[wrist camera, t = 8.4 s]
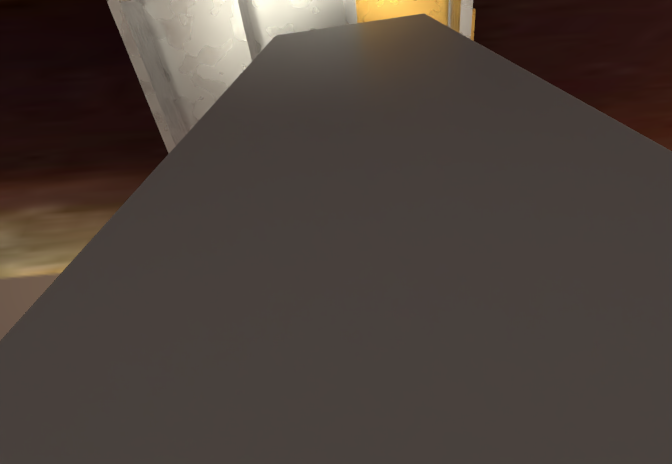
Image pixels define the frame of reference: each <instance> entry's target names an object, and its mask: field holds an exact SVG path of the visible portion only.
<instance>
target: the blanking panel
mask: <svg viewBox="0 0 672 464" xmlns="http://www.w3.org/2000/svg"><path fill="white" fill-rule="evenodd" d="M0 464H672V151H670V150H668V149H666V148H665V147H663V146H661V145H659V144H657V143H656V142H654V141H652V140H650V139H649V138H647V137H645V136H643V135H641V134H640V133H638V132H636V131H634V130H632V129H631V128H629V127H627V126H625V125H623V124H622V123H620V122H618V121H616V120H614V119H613V118H611V117H609V116H607V115H605V114H604V113H602V112H600V111H598V110H596V109H595V108H593V107H591V106H589V105H588V104H586V103H584V102H582V101H580V100H579V99H577V98H575V97H573V96H571V95H570V94H568V93H566V92H564V91H562V90H561V89H559V88H557V87H555V86H553V85H552V84H550V83H548V82H546V81H544V80H543V79H541V78H539V77H537V76H536V75H534V74H532V73H530V72H528V71H527V70H525V69H523V68H521V67H519V66H518V65H516V64H514V63H512V62H510V61H509V60H507V59H505V58H503V57H501V56H500V55H498V54H496V53H494V52H492V51H491V50H489V49H487V48H485V47H484V46H482V45H480V44H478V43H476V42H475V41H473V40H471V39H469V38H467V37H466V36H464V35H462V34H460V33H458V32H457V31H455V30H453V29H451V28H449V27H448V26H446V25H444V24H442V23H440V22H439V21H437V20H435V19H433V18H432V17H430V16H428V15H426V14H417V15H410V16H403V17H397V18H390V19H383V20H376V21H369V22H363V23H356V24H349V25H342V26H335V27H329V28H322V29H315V30H308V31H301V32H295V33H288V34H281V35H275V37H274V38H273V39H272V40H271V41H270V42H269V43H268V44H267V45H266V47H265V48H264V49H263V50H262V51H261V52H260V53H259V54H258V55H257V57H256V58H255V59H254V60H253V61H252V62H251V63H250V64H249V65H248V67H247V68H246V69H245V70H244V71H243V72H242V73H241V74H240V75H239V77H238V78H237V79H236V80H235V81H234V82H233V83H232V84H231V85H230V86H229V88H228V89H227V90H226V91H225V92H224V93H223V94H222V95H221V96H220V98H219V99H218V100H217V101H216V102H215V103H214V104H213V105H212V106H211V108H210V109H209V110H208V111H207V112H206V113H205V114H204V115H203V116H202V118H201V119H200V120H199V121H198V122H197V123H196V124H195V125H194V126H193V128H192V129H191V130H190V131H189V132H188V133H187V134H186V135H185V136H184V138H183V139H182V140H181V141H180V142H179V143H178V144H177V145H176V146H175V148H174V149H173V150H172V151H171V152H170V153H169V154H168V155H167V156H166V158H165V159H164V160H163V161H162V162H161V163H160V164H159V165H158V166H157V167H156V169H155V170H154V171H153V172H152V173H151V174H150V175H149V176H148V177H147V179H146V180H145V181H144V182H143V183H142V184H141V185H140V186H139V187H138V189H137V190H136V191H135V192H134V193H133V194H132V195H131V196H130V197H129V199H128V200H127V201H126V202H125V203H124V204H123V205H122V206H121V207H120V209H119V210H118V211H117V212H116V213H115V214H114V215H113V216H112V217H111V219H110V220H109V221H108V222H107V223H106V224H105V225H104V226H103V227H102V229H101V230H100V231H99V232H98V233H97V234H96V235H95V236H94V237H93V238H92V240H91V241H90V242H89V243H88V244H87V245H86V246H85V247H84V248H83V250H82V251H81V252H80V253H79V254H78V255H77V256H76V257H75V258H74V260H73V261H72V262H71V263H70V264H69V265H68V266H67V267H66V268H65V270H64V271H63V272H62V273H61V274H60V275H59V276H58V277H57V278H56V280H55V281H54V282H53V283H52V284H51V285H50V286H49V287H48V288H47V290H46V291H45V292H44V293H43V294H42V295H41V296H40V297H39V298H38V300H37V301H36V302H35V303H34V304H33V305H32V306H31V307H30V308H29V310H28V311H27V312H26V313H25V314H24V315H23V316H22V317H21V319H19V321H18V322H17V323H16V324H15V325H14V326H13V327H12V328H11V329H10V331H9V332H8V333H7V334H6V335H5V336H4V337H3V339H2V340H1V341H0Z"/></svg>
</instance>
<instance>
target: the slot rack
mask: <svg viewBox="0 0 672 464" xmlns="http://www.w3.org/2000/svg"><path fill="white" fill-rule="evenodd" d="M107 2H108V5H109V7H110V10H111V12H112V15H113V17H114V20H115V22H116V25H117V27H118V30H119V32H120V35H121V37H122V40H123V42H124V44H125V47H126V49H127V52H128V54H129V57H130V59H131V62H132V64H133V67H134V69H135V72H136V74H137V77H138V79H139V82H140V84H141V87H142V89H143V91H144V94H145V96H146V99H147V101H148V104H149V106H150V109H151V111H152V114H153V116H154V119H155V121H156V124H157V126H158V129H159V131H160V133H161V136H162V138H163V141H164V143H165V146H166V148H167V151H168V153H170V152H171V151H172V150H173V149H174V148H175V146H176V145H177V144H178V143H179V142H180V141H181V140H182V139H183V138H184V136H185V135H186V134H187V133H188V132H189V131H190V130H191V129H192V128H193V126H194V125H195V124H196V123H197V122H198V121H199V120H200V119H201V118H202V116H203V115H204V114H205V113H206V112H207V111H208V110H209V109H210V108H211V106H212V105H213V104H214V103H215V102H216V101H217V100H218V99H219V98H220V96H221V95H222V94H223V93H224V92H225V91H226V90H227V89H228V88H229V86H230V85H231V84H232V83H233V82H234V81H235V80H236V79H237V78H238V77H239V75H240V74H241V73H242V72H243V71H244V70H245V69H246V68H247V67H248V65H249V64H250V63H251V62H252V61H253V60H254V59H255V58H256V57H257V55H258V54H259V53H260V52H261V51H262V50H263V49H264V48H265V47H266V45H267V44H268V43H269V42H270V41H271V40H272V39H273V38H274V37H275V35H281V34H288V33H295V32H301V31H308V30H315V29H322V28H329V27H335V26H342V25H349V24H356V23H363V22H369V21H376V20H383V19H390V18H397V17H403V16H410V15H417V14H426V15H428V16H430V17H432V18H433V19H435V20H437V21H439V22H440V23H442V24H444V25H446V26H448V27H449V28H451V29H453V30H455V31H457V32H458V33H460V34H462V35H464V36H466V37H467V38H469V39H471V40H473V41H474V26H475V11H476V9H474V8H473V0H107Z"/></svg>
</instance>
